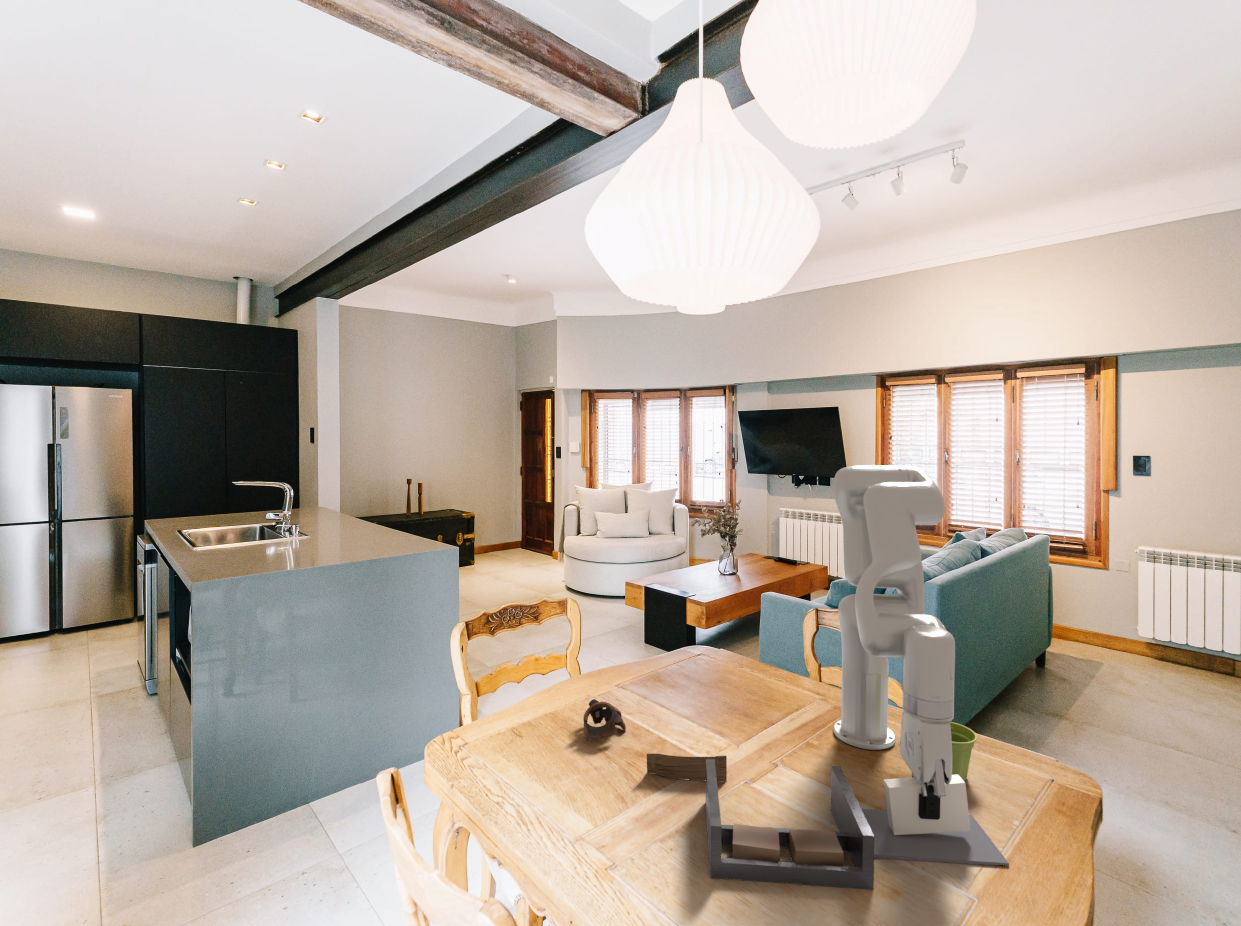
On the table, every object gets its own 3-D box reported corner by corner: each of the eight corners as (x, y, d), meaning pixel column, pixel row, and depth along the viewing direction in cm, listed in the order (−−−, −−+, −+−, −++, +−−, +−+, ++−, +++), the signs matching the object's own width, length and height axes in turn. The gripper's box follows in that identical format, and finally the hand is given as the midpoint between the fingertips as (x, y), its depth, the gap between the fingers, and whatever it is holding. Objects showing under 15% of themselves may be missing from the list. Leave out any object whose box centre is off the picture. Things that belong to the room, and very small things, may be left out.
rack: (705, 802, 110) (705, 759, 109) (839, 810, 107) (840, 765, 107) (710, 877, 91) (710, 825, 90) (873, 889, 88) (874, 836, 88)
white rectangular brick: (888, 825, 102) (883, 779, 102) (963, 821, 101) (958, 774, 100) (894, 835, 99) (888, 787, 99) (970, 830, 98) (965, 782, 98)
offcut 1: (733, 847, 98) (733, 823, 98) (778, 853, 96) (778, 829, 96) (732, 869, 93) (732, 843, 93) (779, 875, 91) (779, 850, 91)
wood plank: (726, 778, 118) (726, 753, 117) (726, 784, 116) (726, 758, 115) (647, 773, 119) (647, 748, 119) (646, 779, 117) (646, 754, 117)
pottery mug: (636, 738, 134) (627, 714, 130) (601, 765, 131) (590, 741, 127) (609, 705, 144) (600, 682, 140) (576, 729, 141) (565, 706, 137)
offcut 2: (789, 853, 96) (789, 829, 96) (834, 856, 96) (834, 831, 96) (795, 876, 91) (795, 850, 91) (843, 879, 91) (843, 853, 91)
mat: (852, 810, 107) (852, 808, 107) (971, 817, 105) (971, 815, 105) (874, 857, 95) (874, 854, 95) (1008, 866, 93) (1008, 863, 93)
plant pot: (911, 766, 121) (911, 724, 121) (946, 758, 125) (946, 716, 124) (951, 792, 113) (952, 746, 112) (987, 782, 116) (988, 737, 116)
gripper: (887, 683, 107) (885, 784, 108) (922, 725, 92) (920, 843, 92) (931, 685, 107) (929, 787, 107) (975, 727, 91) (972, 846, 92)
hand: (925, 812), depth 100 cm, fingers closed on white rectangular brick, 2 cm apart
